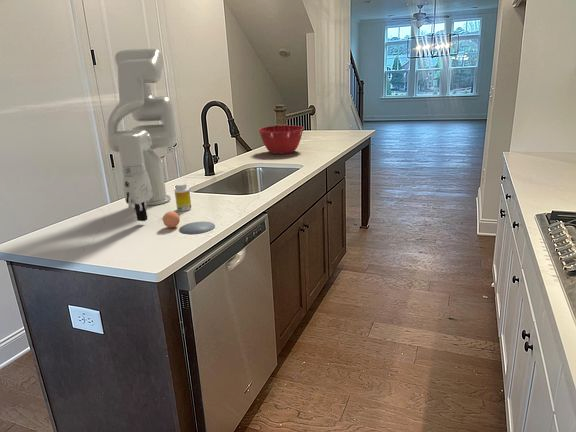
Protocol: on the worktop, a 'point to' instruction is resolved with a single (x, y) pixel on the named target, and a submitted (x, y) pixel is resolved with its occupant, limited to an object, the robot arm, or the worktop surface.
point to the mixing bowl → (281, 138)
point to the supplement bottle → (182, 197)
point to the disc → (197, 227)
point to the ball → (171, 219)
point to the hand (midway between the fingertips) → (142, 220)
